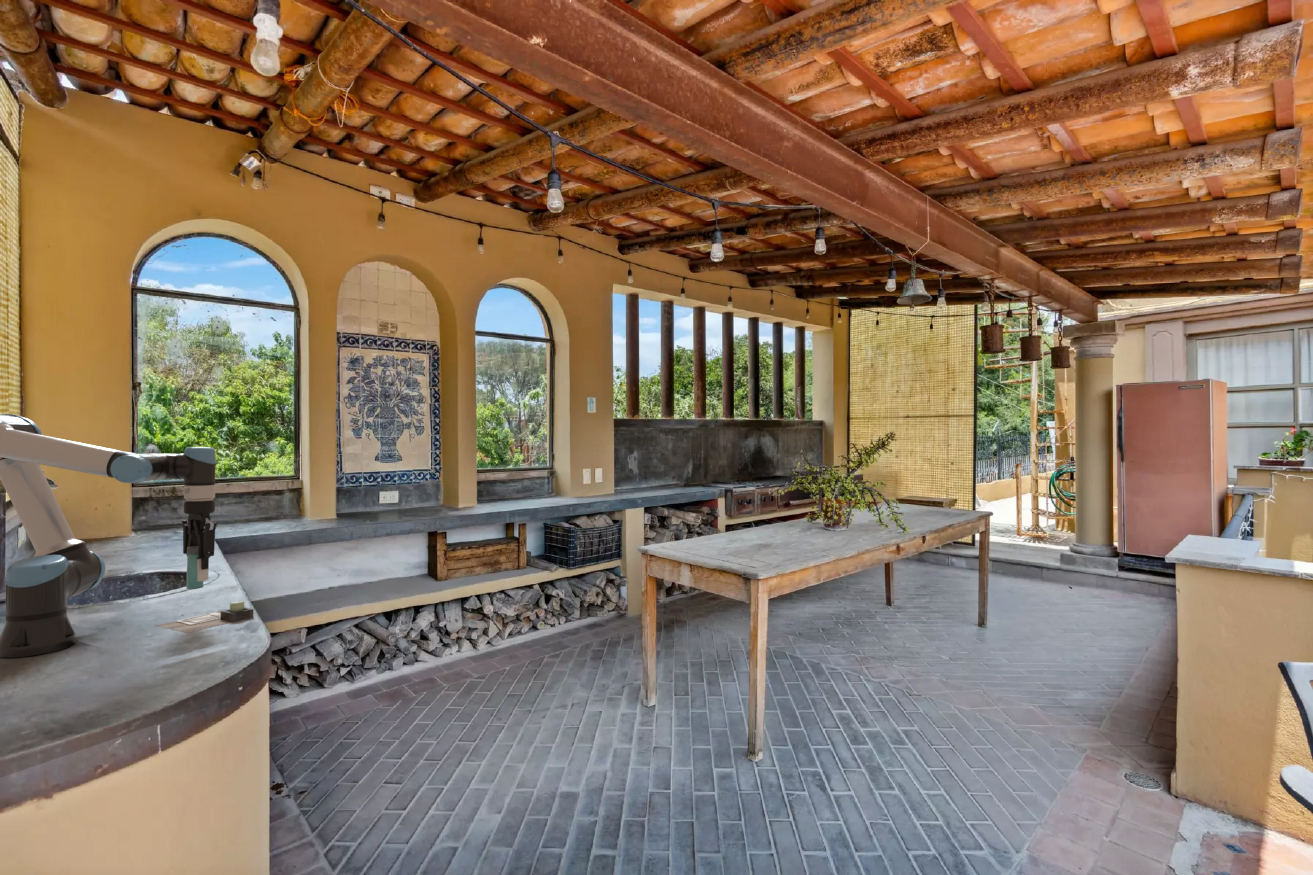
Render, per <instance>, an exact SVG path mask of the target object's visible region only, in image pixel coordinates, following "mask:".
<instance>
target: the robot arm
mask: <svg viewBox="0 0 1313 875" xmlns="http://www.w3.org/2000/svg"><path fill="white" fill-rule="evenodd" d="M40 465H43V466H46V467H51V468H59V469H63V470H69V471H75V472H80V473H85V474H89V475H90V474H91V475H97V476H102V477H108V478H112V479H115V480H116V481H118V482H120V483H123V484H138V483H143V482H151V481H152V482H153V481H159V480H160V481H161V480H183V485H184V487H183V490H182V492H183V498H184V501H183V513H184V514H185V515H188V517H187V519H184V520H181V524H182V548H183V549H182V552H183V554H184V555H187V547H188V546H197V545H198V549H199V557H197V581H203V582H204V581H208V580H209V571H210V570H209V568H210V567H209V566H210V565H209V564H210V562H209V558H211V557H213V556H214V555H215V544H216V541H215V540H216V528H217V522H212V521H211V520H212V519H211V514H212V513H214V512H215V511H216V501H215V498H216V469H217V468H216V467H217V466H216V465H217V461H216V449H215V448H213V447H212V446H211V447H209V446H208V447H206V446H200V447H199V446H187V447H185V449H184V451H183V453H160V452H159V453H157V452H156V453H155V452H149V453H135V452H130V451H129V452H128V451H126V450H125V451H122V450H119V449H115V448H109V447H104V446H98V445H94V444H89V443H84V442H78V441H72V440H67V439H63V438H59V437H58V438H57V437H54V436H48V435H43V432H42V431H41V429H40V427H39V426H38V424H36V422H34V421H33V420H31V419H29V418H27V417H24V416H21V415H16V414H12V413H0V481H1V483H2V485H3V487H4V489H5V491H6V493H7V496H8V498H9V499H10V501H11V503H12V506H13V507H14V510H15V511H16V514H17V516H18V518H19V520H20V521H21V525H22V526H23V528H24V530H25V532H26V533H27V537H28V539H29V540H30V542H31V544H32V546H33V549H34V550H35V554H34V555H33V556H32V557H26V558H22V559H19V560H16V561H14V562H12V563H10V564H9V565H8V566H7V568H6V571H5V577H4V584H5V587H4V588H5V623H4V627H3V628H2V631H1V633H0V658H2V659H3V658H4V659H5V658H7V659H8V658H9V659H10V658H11V659H13V658H14V659H15V658H24V657H25V658H26V657H31V656H32V657H33V656H39V655H44V654H49V653H52V652H57V651H61V650H64V649H67V648H70V647H72V646H74V645H75V644H76V642H77V640H76V636H77V635H76V634H77V633H76V632H75V630H74V628H73V625H72V623H71V620H70V618H69V617H68V599H70V598H72V597H75V596H79V595H82V594H85V593H88V592H89V591H90V590H92V589H93V588H94V589H95V587H97V586H98V585H99V584H100V583H101V582H102V581H103V578H104V576H105V573H106V564H105V561H104V559H103V558H102V557H101V555H99V554H98V553H96V552H94V551H91V550H90V549H89V548H88V546H87V544H86V542H85V540H81V539H78V538H76V537H75V536H74V533H73V531H72V528H71V527H70V525H69V522H68V521H67V519H66V516H65V514H64V513H63V510H62V509H61V508H62V507H61V506H60V504H59V502H58V500H57V498H56V496H55V494H54V491H53V489H52V488H51V485H50V483H49V481H48V480H47V478H46V475H45V473H44V471H43V469H42V467H41V466H40Z"/></svg>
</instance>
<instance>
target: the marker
mask: <svg viewBox="0 0 1313 875" xmlns="http://www.w3.org/2000/svg"><path fill="white" fill-rule="evenodd" d="M197 557H199V549H198V545H197V546H188V547H187V554H186V560H187V561H186V589H187V590H198V589H202V588H204V581H197Z"/></svg>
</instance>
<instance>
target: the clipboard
mask: <svg viewBox="0 0 1313 875" xmlns="http://www.w3.org/2000/svg"><path fill="white" fill-rule="evenodd" d="M252 618H254V608H251V607H246V606H244V610H243V611H239V612H235V613H233V612H230V608H229V609H224V610H219V611H214V612H210V613H206V614H201V615H196V616H192V617H186V618H183V619H179V620H174V621H170V622H165V623H159V624H156V625H155V626H156V627H162V628H165V629H167V630H172V631H173V630H174V631H177V632H181V633H187V634H189V633H194V632H197V631H201V630H206V629H211V628H215V627H218V626H222V625H223V626H224V625H225V624H226V625H227V624H231V623H234V622H239V621H243V620H248V619H252Z"/></svg>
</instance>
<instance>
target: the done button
mask: <svg viewBox="0 0 1313 875" xmlns="http://www.w3.org/2000/svg"><path fill="white" fill-rule="evenodd" d="M244 607H245V601H242V600H239V601H238V600H237V601H233V602H230V603H229V609H230V612H233V613H235V612H239V611H243V610H244Z"/></svg>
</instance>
